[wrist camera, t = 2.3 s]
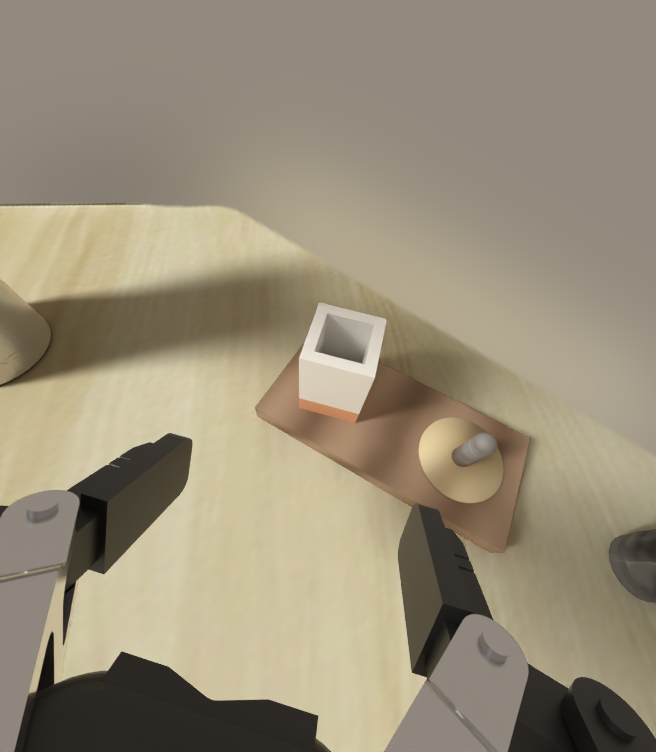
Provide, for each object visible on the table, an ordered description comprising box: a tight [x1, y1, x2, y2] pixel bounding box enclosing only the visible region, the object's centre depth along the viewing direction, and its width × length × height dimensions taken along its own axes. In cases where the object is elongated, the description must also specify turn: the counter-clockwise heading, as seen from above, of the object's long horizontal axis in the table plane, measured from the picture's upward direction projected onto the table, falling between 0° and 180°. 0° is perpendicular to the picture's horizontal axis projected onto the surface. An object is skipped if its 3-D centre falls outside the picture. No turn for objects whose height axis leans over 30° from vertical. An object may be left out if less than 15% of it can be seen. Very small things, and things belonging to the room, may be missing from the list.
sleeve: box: [299, 302, 387, 423], centre depth 24 cm, size 5×5×8 cm
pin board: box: [255, 342, 530, 553], centre depth 26 cm, size 22×10×7 cm, turn 61°
